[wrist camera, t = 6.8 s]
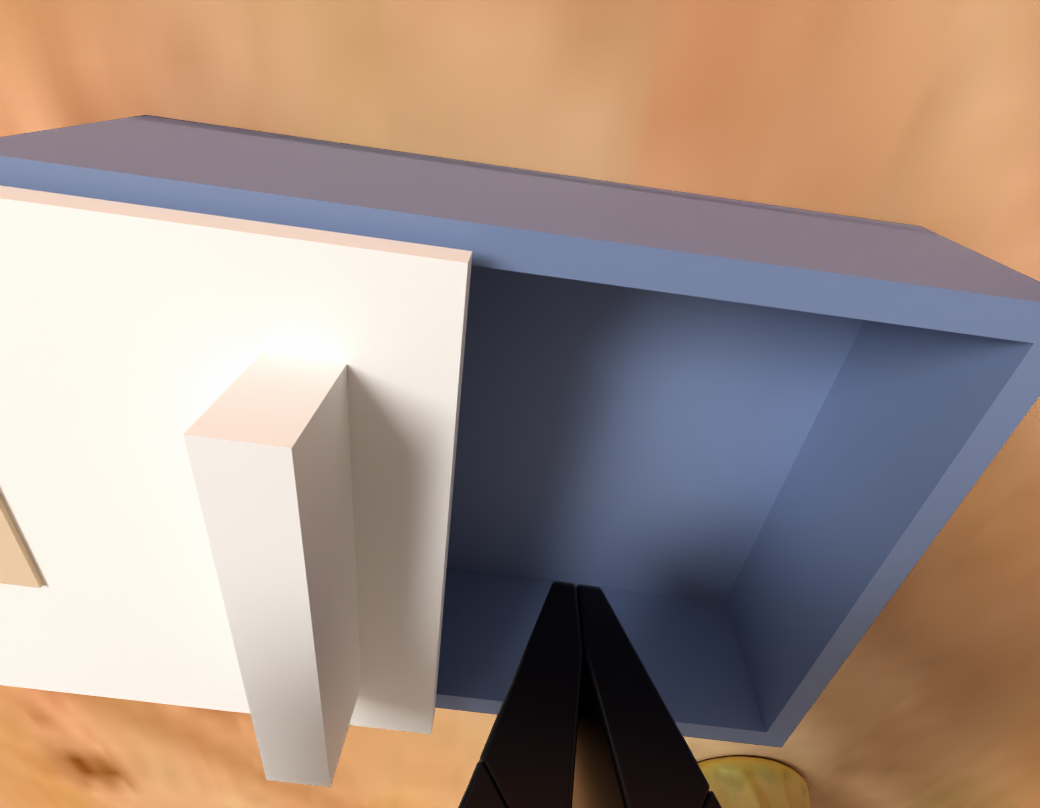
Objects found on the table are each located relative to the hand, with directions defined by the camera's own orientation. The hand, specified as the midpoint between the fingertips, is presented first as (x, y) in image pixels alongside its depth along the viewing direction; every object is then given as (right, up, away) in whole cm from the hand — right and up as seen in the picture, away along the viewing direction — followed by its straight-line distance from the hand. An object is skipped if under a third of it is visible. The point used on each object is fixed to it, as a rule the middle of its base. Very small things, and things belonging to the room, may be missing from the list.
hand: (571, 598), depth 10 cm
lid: (-10, +2, +1) cm, 10 cm away
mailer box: (-1, +3, +5) cm, 6 cm away
